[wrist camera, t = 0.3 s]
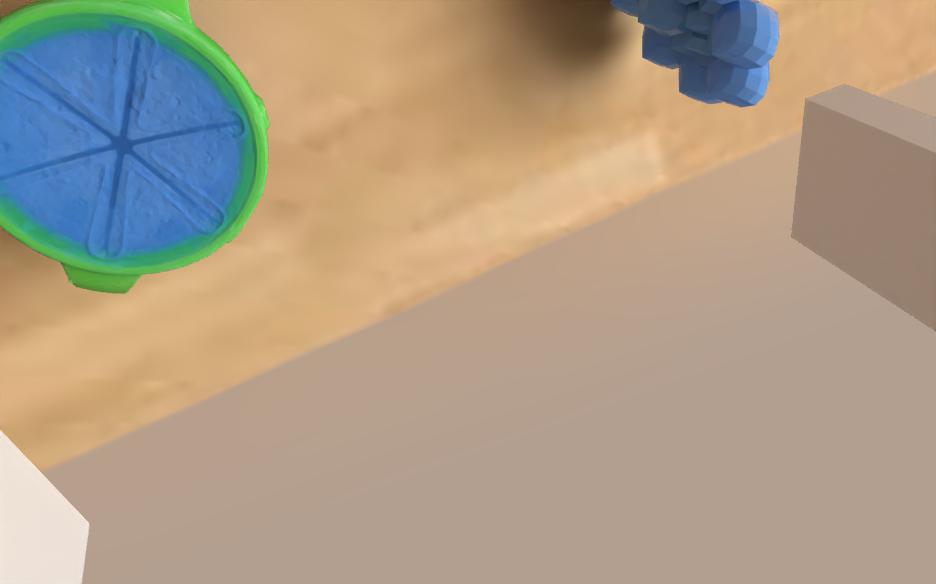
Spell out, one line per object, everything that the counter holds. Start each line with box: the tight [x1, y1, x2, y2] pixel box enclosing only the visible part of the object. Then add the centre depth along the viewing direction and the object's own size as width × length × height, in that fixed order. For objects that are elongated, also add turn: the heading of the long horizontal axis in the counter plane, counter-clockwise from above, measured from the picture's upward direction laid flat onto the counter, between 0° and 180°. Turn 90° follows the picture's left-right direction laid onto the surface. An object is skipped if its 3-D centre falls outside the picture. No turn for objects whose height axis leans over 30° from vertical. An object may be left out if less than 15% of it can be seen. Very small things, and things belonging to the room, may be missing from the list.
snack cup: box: [0, 0, 270, 294], centre depth 29 cm, size 16×11×10 cm
